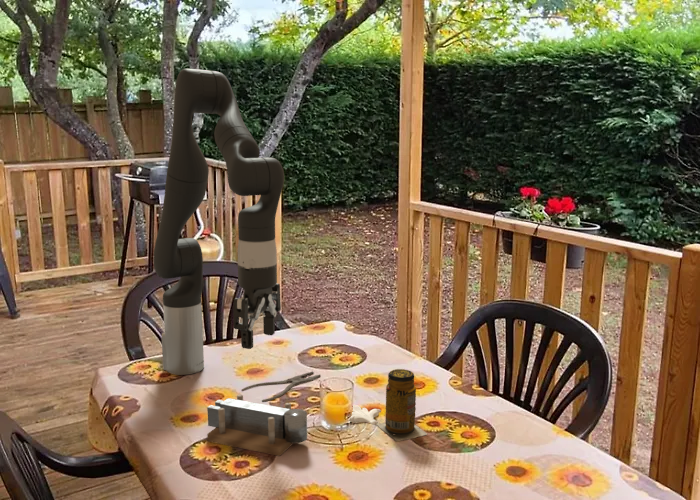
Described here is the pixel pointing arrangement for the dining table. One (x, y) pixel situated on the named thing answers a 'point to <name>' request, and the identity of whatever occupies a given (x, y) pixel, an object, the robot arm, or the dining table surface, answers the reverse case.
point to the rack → (249, 436)
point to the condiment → (401, 406)
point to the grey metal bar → (260, 419)
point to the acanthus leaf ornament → (364, 415)
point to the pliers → (293, 381)
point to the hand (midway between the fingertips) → (258, 341)
